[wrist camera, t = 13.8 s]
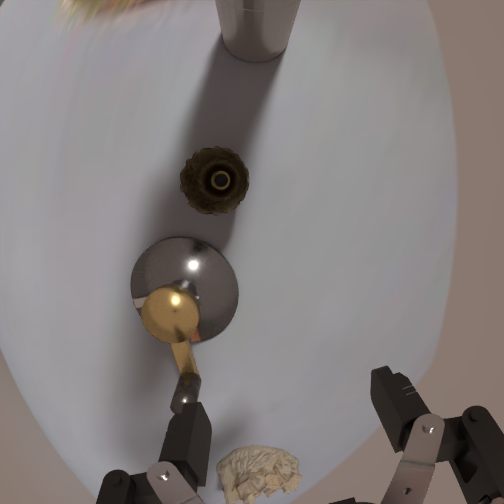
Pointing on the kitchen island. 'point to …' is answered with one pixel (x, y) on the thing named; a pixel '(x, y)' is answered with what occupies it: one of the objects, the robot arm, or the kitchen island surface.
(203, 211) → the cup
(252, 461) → the ceramic cottage
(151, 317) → the gold lever handle
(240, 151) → the kitchen island surface
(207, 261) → the post base
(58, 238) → the kitchen island surface
